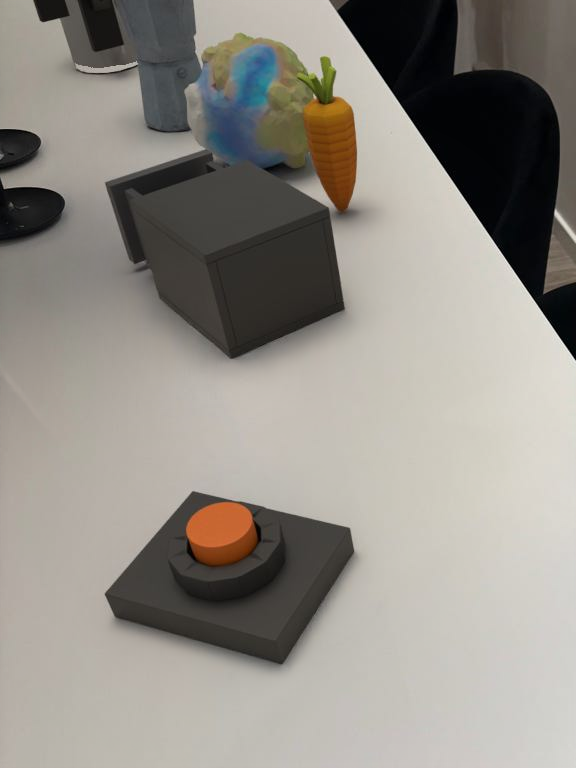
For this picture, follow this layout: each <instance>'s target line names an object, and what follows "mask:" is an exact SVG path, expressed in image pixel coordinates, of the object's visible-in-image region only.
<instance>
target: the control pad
mask: <svg viewBox="0 0 576 768" xmlns="http://www.w3.org/2000/svg"><path fill="white" fill-rule="evenodd" d="M222 502H232V503H237V504H240V505H243V506H244V507H246V508H247V509H248V510H249V511H250V513H251V515H252V518H253V522H254V525H255V529H256V532H257V536H258V542H257V545H256V547H255V549H254V551H253V552H252V553H251V554H250V555H249V556H247V557H246V558H244V559H242V560H240V561H238V562H237V563H235V564H231V565H225V566H218V567H211V566H207V565H204V564H202V563H201V562H199V561H198V560H197V559H196V558H195V556H194V554H193V551H192V548H191V545H190V542H189V540H188V537H187V533H186V528H187V524H188V522H189V520H190V519H191V517H192V516H193V515H194V514H195V513H197V512H198V511H199V510H201V509H203V508H204V507H207V506H209V505H212V504H216V503H222ZM354 553H355V546H354V541H353V536H352V531H351V527H348V526H344V525H339V524H336V523H331V522H327V521H323V520H318V519H314V518H310V517H305V516H301V515H297V514H293V513H288V512H285V511H280V510H276V509H271V508H268V507H265V506H262V505H258V504H254V503H249V502H245V501H241V500H233V499H228V498H225V497H221V496H217V495H212V494H207V493H203V492H199V491H194V490H193V491H191V492H190V493H189V494H188V496H187V497H186V498H185V499H184V501H183V502H182V503H181V504H180V505H179V507H177V508H176V510H175V511H174V512H173V513H172V514H171V515H170V516H169V518H168V519H167V520H166V521H165V523H163V525H162V526H161V527H160V528H159V530H158V531H157V532H156V533H155V534H154V536H153V537H152V538H151V539H150V540H149V541H148V542H147V543H146V544H145V546H144V547H143V548H142V549H141V551H139V553H138V554H137V555H136V556H135V557H134V559H133V560H132V561H131V562H130V563H129V565H127V567H126V568H125V569H124V570H123V571H122V572H121V574H119V576H118V577H117V578H116V579H115V581H114V582H113V583H112V584H111V585H110V587H109V588H108V589H107V590H106V591H105V592H104V597H105V599H106V602H107V603H108V605H109V607H110V609H111V611H112V615H113V616H114V618H117V619H121V620H125V621H128V622H131V623H134V624H138V625H142V626H145V627H148V628H152V629H156V630H160V631H163V632H167V633H170V634H174V635H177V636H180V637H184V638H187V639H191V640H195V641H198V642H203V643H205V644H208V645H213V646H216V647H219V648H222V649H226V650H230V651H233V652H237V653H240V654H244V655H248V656H251V657H255V658H258V659H261V660H265V661H268V662H272V663H275V664H279V665H283V664H284V663H285V661H286V659H287V658H288V656H289V654H290V653H291V651H292V650H293V648H294V647H295V645H296V644H297V642H298V640H299V639H300V637H301V635H302V634H303V632H304V631H305V630H306V628H307V626H308V625H309V623H310V621H311V620H312V618H313V617H314V615H315V614H316V612H317V610H319V608H320V606H321V604H322V603H323V601H324V600H325V598H326V596H327V595H328V593H329V592H330V590H331V589H332V587H333V586H334V584H335V582H336V581H337V580H338V578H339V576H340V575H341V573H342V572H343V570H344V568H345V567H346V565H347V564H348V562H349V560H350V559H351V557H352V556H353V554H354Z"/></svg>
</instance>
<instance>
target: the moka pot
mask: <svg viewBox="0 0 576 768" xmlns="http://www.w3.org/2000/svg"><path fill="white" fill-rule="evenodd" d="M114 3H115V5H116V7H117V9H118V11H119V13H120V16H121V19H122V22H123V24H124V27H125V30H126V32H127V35H128V37H129V39H130V40H131V41H132V43H133V46H134V50H135V54H136V56H137V57H138V58H137V63H138V66H137V71H138V76H139V85H140V92H141V101H142V109H143V110H142V111H143V118H144V120H145V121H144V122H145V124H146V125H147V126H148V127H149V128H152V129H155V130H158V131H162V132H185V131H189V130H190V131H191V128H190V126H189V124H188V120H187V100H186V96H185V93H184V92H185V89H186V88H187V87H188V86H189V85H190V84H193V83H195V82H196V81H197V80H198V79H199V77H200V75H201V72H202V66H201V63H200V60H199V58H198V55H197V53H196V50H197V48H196V47H197V46H196V40H195V36H196V35H197V26H196V25H197V23H196V14H195V13H196V12H195V4H194V0H114Z"/></svg>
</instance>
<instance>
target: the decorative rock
mask: <svg viewBox="0 0 576 768" xmlns="http://www.w3.org/2000/svg"><path fill="white" fill-rule="evenodd" d="M200 58H201V62H202V66H201V69H202V72H201V75H200V77H199V79H198V80H197V81H196V82H195V83H193V84H190V85H189V86H188V87H187V88H186V89H185V92H184V93H185V96H186V100H187V120H188V124H189V126H190V128H191V129H190V131H191V132H192V135H193V137H194V139H195V142H196V143H197V144H198V145H199V146H201V147H202V148H203V149H204V150H205V149H207V150H209V151H210V152H212V155H213V157H215V158H214V159H216V160H217V161H218V162H219V163H220V164H227V165H229V166H231V165H234V164H237V163H240V162H243V161H246V160H248V161H250V162H252V163H253V164H255V165H257V166H259V167H260V168H262V169H264V170H265V169H267V168H270V167H273V166H276V165H279V164H285V165H286V166H288V167H289V168H292V169H299V168H301V167H303V166H305V163H306V162H305V161H306V154H307V153H310V150H309V145H308V141H307V136H306V131H305V126H304V121H303V109H304V107H305V106H306V105H307V104H308V103H310V102H311V101H312V100H313V99H315V97H314V96H315V94H314V93H313V92H312V90H311V89H310V88H309V87H308V86H307V85H306V84H305V83H304V82H302V81H300V80H299V79H297V75H298V73H302V74H304V75H306V76H307V77H309V72H308V69H307V67H306V66H305V65H304V63H303V62H302V61H301V60H300V59H299V57H298V55H297V53H296V52H295V51H294V50H293V49H291V48H290V47H289V46H288V45H286V44H285V43H283V42H281V41H276V40H273V39H270V38H266V37H262V36H261V37H257V38H254V37H252V36H250V35H249V36H247V34H245V33H243V32H241V31H240V32H236V33H235V34H234V35H233V37H232V39H228V40H224V41H221V42H218V43H217V45H216V46H212V45H211V46H208V47H206V48H205V49H204V50H203V51H202V53H201V56H200ZM309 78H310V77H309Z"/></svg>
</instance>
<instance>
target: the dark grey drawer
mask: <svg viewBox="0 0 576 768" xmlns="http://www.w3.org/2000/svg"><path fill="white" fill-rule="evenodd" d="M222 168H224V166H222V165H220V164H218V163H217V162H215V158H214V155H213V154H212V152H210V151H209V150H207V149H205V148H204V149H202V150H199V151H196V152H192V153H189V154H187V155H184V156H181V157H178V158H175V159H172V160H171V159H170V160H169V161H166V162H163V163H160V164H157V165H153V166H151V167H148V168H147V167H146V168H144V169H141V170H138V171H135V172H132V173H129V174H126V175H123V176H119V177H116V178H113V179H111V180H107V181H105V182H104V186H105V188H106V191H107V194H108V198H109V200H110V203H111V207H112V210H113V213H114V216H115V219H116V222H117V226H118V229H119V232H120V235H121V239H122V241H123V244H124V248H125V250H126V254H127V256H128V257H127V258H128V260H129V261H130V262H131V263H132V264H134V265H136V264H140V263H142V262H144V261H145V263H146V265H147V266H148V267H150V265H149V262H148V259H147V255H146V252H145V249H144V246H143V242H142V239H141V236H140V233H139V229H138V226H137V223H136V219H135V216H134V213H133V209H132V206H131V203H130V200H131V199H134V198H137V197H140V196H143V195H146V194H149V193H152V192H155V191H158V190H161V189H164V188H166V187H169V186H172V185H175V184H178V183H181V182H184V181H187V180H190V179H193V178H196V177H199V176H202V175H205V174H208V173H211V172H213V171H216V170H219V169H222Z"/></svg>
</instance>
